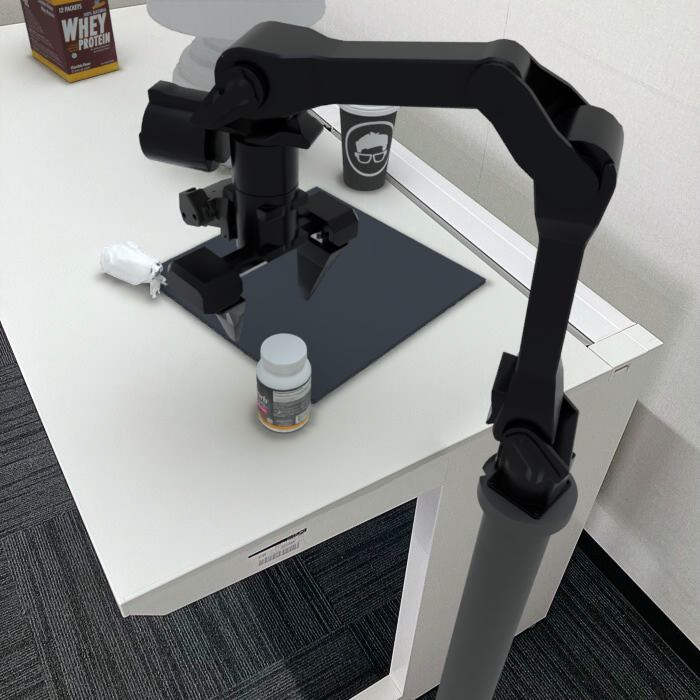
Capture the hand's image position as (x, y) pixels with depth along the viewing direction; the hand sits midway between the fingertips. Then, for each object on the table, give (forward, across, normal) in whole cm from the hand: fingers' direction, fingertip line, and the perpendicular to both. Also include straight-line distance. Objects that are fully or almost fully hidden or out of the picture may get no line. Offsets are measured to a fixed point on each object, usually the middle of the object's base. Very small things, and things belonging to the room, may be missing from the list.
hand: (270, 318), depth 79 cm
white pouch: (+12, -2, -29) cm, 32 cm away
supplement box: (+13, -32, -94) cm, 100 cm away
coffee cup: (+13, -42, -27) cm, 52 cm away
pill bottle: (+13, 0, +2) cm, 13 cm away
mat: (+13, -19, -14) cm, 27 cm away
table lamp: (+13, -34, -46) cm, 59 cm away
